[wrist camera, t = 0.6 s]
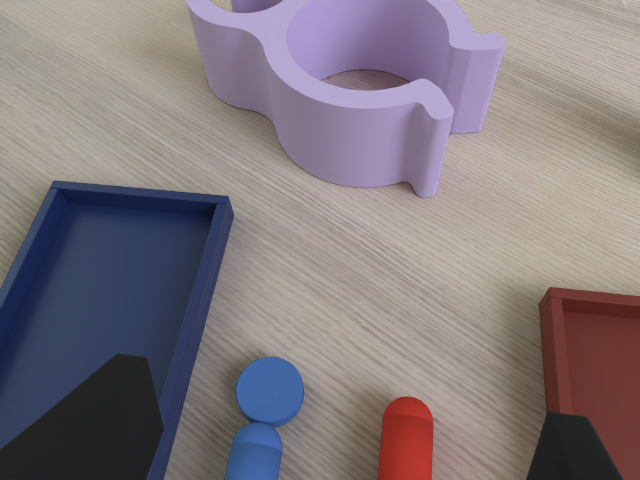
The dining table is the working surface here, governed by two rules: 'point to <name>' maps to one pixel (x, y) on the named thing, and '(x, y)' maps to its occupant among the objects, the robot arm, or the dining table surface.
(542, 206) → the dining table surface
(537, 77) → the dining table surface
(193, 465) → the dining table surface
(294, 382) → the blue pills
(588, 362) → the red tray
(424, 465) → the red disc-ended bar
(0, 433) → the blue tray
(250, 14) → the clip
